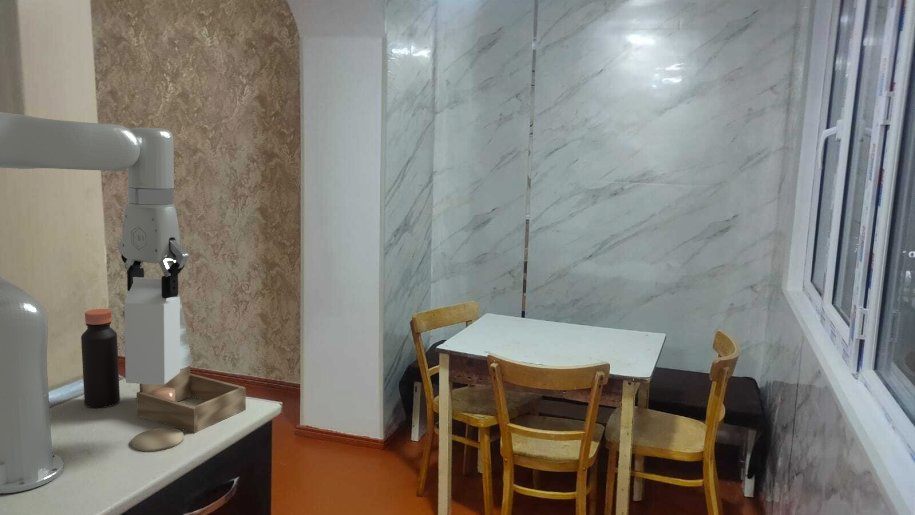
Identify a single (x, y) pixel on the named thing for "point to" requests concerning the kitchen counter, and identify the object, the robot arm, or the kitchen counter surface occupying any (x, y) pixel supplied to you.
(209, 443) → the kitchen counter surface
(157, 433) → the coaster
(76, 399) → the kitchen counter surface
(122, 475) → the kitchen counter surface
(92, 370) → the bottle
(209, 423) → the box
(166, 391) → the tan rounded ovoid
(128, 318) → the milk carton
